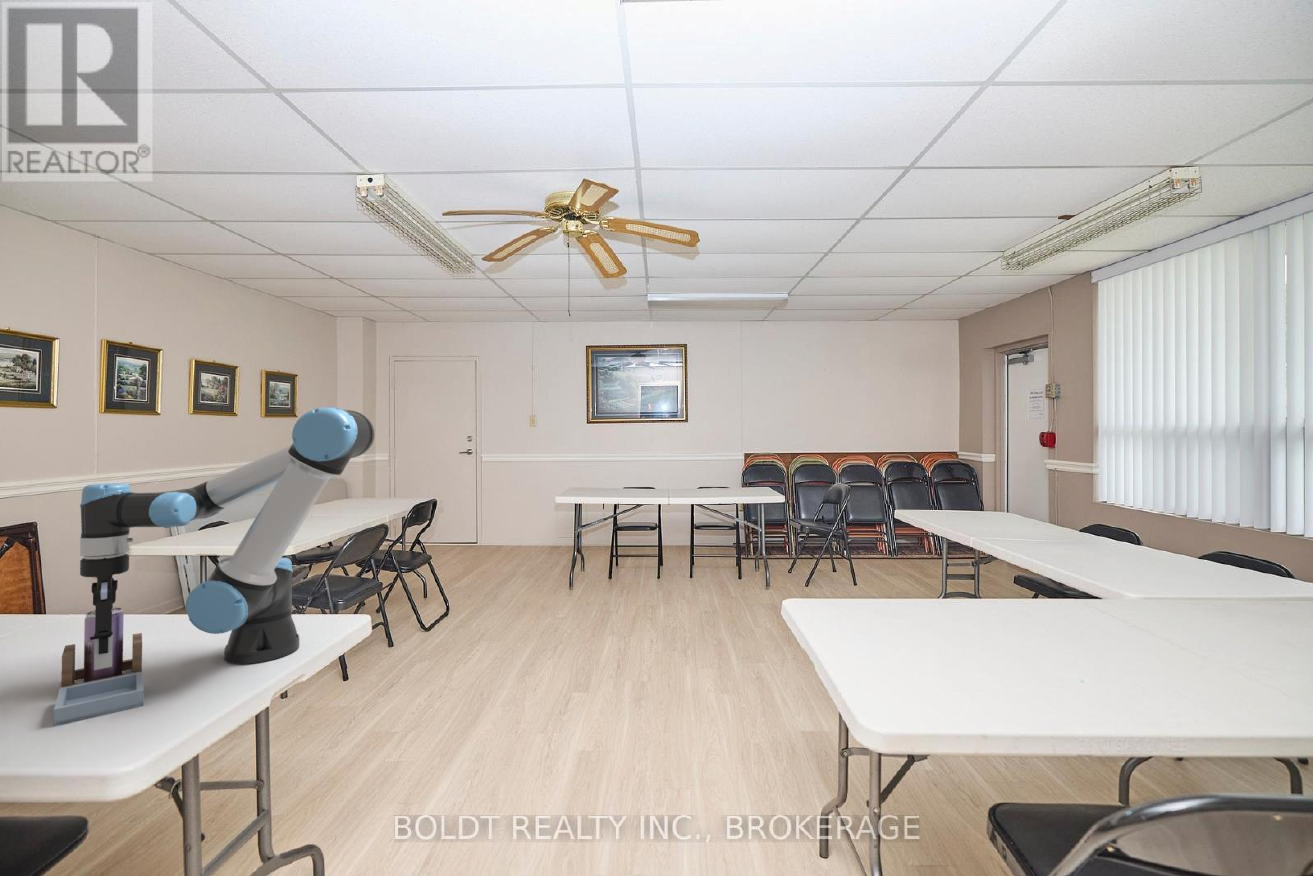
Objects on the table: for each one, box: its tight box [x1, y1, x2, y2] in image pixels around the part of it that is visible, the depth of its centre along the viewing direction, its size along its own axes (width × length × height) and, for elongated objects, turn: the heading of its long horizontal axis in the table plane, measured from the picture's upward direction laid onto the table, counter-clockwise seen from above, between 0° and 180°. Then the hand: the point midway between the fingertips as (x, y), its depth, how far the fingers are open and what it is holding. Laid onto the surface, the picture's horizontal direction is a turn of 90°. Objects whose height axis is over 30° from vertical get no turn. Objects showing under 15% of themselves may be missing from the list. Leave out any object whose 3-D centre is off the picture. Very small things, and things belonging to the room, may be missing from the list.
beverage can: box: [83, 607, 125, 682], centre depth 121 cm, size 6×6×15 cm
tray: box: [53, 670, 145, 727], centre depth 110 cm, size 12×12×3 cm
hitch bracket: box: [60, 632, 143, 688], centre depth 121 cm, size 11×12×8 cm
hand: (103, 663), depth 121 cm, fingers closed on beverage can, 6 cm apart
